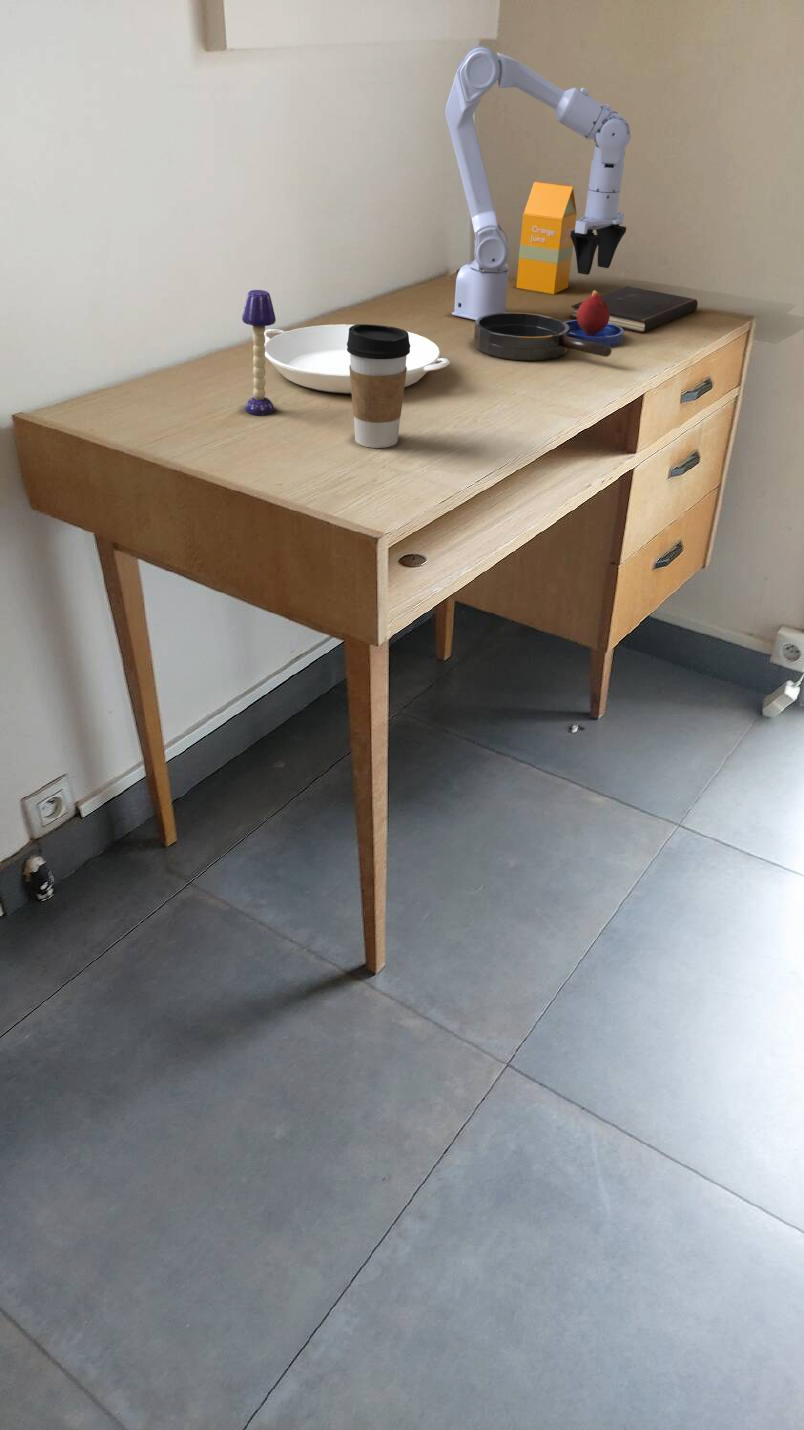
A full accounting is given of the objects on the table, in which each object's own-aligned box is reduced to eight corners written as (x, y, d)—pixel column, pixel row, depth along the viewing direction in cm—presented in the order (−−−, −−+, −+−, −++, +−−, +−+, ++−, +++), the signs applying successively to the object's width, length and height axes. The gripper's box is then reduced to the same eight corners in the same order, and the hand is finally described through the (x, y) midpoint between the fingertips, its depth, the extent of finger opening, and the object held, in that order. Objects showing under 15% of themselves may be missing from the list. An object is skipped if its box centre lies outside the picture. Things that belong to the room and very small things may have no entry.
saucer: (545, 338, 191) (546, 328, 190) (578, 326, 199) (579, 316, 198) (602, 351, 185) (603, 341, 184) (633, 338, 193) (635, 328, 192)
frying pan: (455, 348, 184) (456, 324, 182) (506, 330, 195) (508, 307, 193) (534, 367, 176) (537, 343, 174) (583, 347, 187) (586, 324, 185)
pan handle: (554, 346, 180) (555, 335, 179) (559, 344, 181) (560, 333, 180) (607, 359, 175) (609, 348, 174) (612, 356, 176) (614, 345, 175)
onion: (605, 333, 194) (611, 288, 190) (607, 342, 189) (613, 295, 185) (573, 331, 195) (579, 286, 190) (575, 340, 190) (580, 293, 185)
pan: (216, 379, 165) (214, 351, 163) (305, 337, 186) (305, 311, 184) (408, 417, 154) (409, 387, 151) (480, 367, 175) (482, 340, 173)
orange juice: (553, 294, 219) (565, 188, 207) (515, 287, 222) (525, 183, 211) (568, 287, 224) (581, 184, 213) (531, 281, 228) (541, 179, 216)
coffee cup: (344, 429, 149) (345, 320, 140) (404, 430, 149) (408, 321, 141) (347, 451, 142) (348, 338, 133) (409, 451, 143) (414, 339, 134)
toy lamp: (271, 403, 157) (267, 286, 147) (283, 413, 153) (279, 294, 144) (241, 407, 155) (234, 289, 145) (252, 417, 151) (246, 297, 142)
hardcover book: (570, 317, 204) (571, 305, 202) (625, 297, 219) (627, 285, 217) (644, 333, 196) (646, 321, 194) (696, 311, 211) (698, 299, 210)
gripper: (604, 197, 181) (593, 280, 189) (642, 189, 191) (630, 268, 199) (569, 192, 185) (559, 273, 193) (608, 184, 194) (598, 262, 202)
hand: (593, 270), depth 196 cm, fingers open, 7 cm apart
